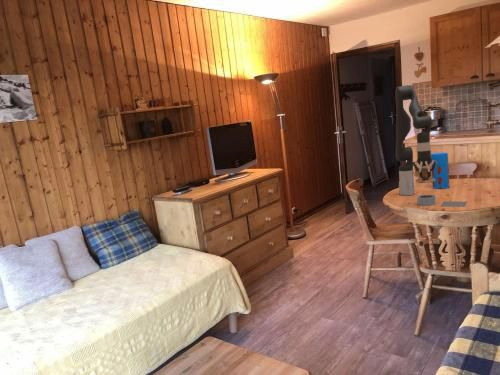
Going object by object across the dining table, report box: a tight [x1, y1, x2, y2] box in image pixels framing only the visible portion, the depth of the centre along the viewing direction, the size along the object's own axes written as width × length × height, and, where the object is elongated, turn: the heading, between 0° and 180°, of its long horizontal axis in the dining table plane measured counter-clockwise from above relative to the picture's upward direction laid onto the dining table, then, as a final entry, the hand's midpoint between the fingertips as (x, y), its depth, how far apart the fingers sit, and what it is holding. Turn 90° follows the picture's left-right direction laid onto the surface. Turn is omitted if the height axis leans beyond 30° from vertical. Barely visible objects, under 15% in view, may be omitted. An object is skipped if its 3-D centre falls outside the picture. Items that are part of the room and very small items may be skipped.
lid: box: [415, 167, 435, 184], centre depth 235 cm, size 11×11×8 cm
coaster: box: [439, 200, 468, 208], centre depth 229 cm, size 13×13×1 cm
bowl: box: [416, 194, 437, 207], centre depth 237 cm, size 10×10×5 cm
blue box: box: [430, 152, 450, 190], centre depth 276 cm, size 11×11×25 cm
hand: (425, 177), depth 235 cm, fingers closed on lid, 3 cm apart
